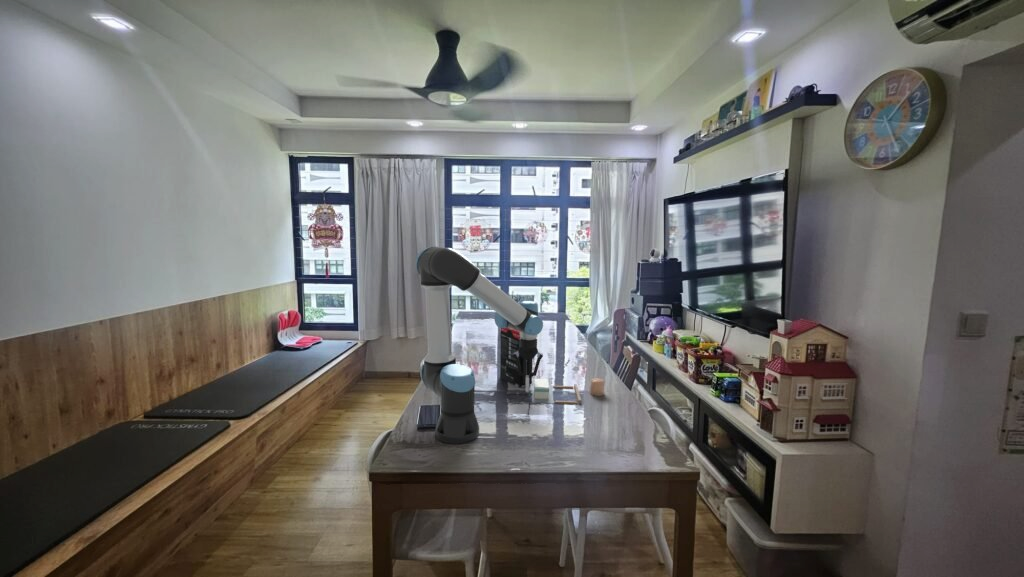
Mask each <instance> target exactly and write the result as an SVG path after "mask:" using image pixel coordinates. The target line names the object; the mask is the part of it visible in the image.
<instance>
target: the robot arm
mask: <svg viewBox="0 0 1024 577" xmlns="http://www.w3.org/2000/svg"><path fill="white" fill-rule="evenodd" d="M414 266H415V269H416V271H417V273H418V275H419V276H420V277H419V278H420V287H422V288H423V289H424V291H425V313H426V315H425V316H426V334H427V335H426V338H427V354H426V355H425V356H424V358H423V362H424V363H423V364H422V366H421V367H420V378H421V382H422V383H423V384H424V386H425V387H426V388H427V389H429V390H430V391H432V392H433V393H434V394H435V395H437V396H438V397H440V415H439V416H438V420H437V423H436V426H435V437H436V439H437V440H439V441H441V442H442V443H445V444H453V445H458V444H465V443H469V442H472V441H475V439H477V438H478V436H479V435H480V425H479V421H478V418H477V415H476V412H475V391H476V390H475V388H476V379H475V373H474V370H473V369H472V368H471V367H469V366H468V365H466V364H460V363H457V359H456V358H457V357H456V354H455V353H453V351H452V330H451V329H452V328H451V327H452V325H451V324H452V323H451V302H450V301H451V300H450V298H451V297H450V296H451V295H450V289H451V287H453V286H454V287H456V288H458V289H459V290H461V291H463V292H464V291H465V292H466V291H467V292H468V293H469V294H471V295H472V296H474V297H475V298H476V299H478V300H479V301H480V302H481V303H483V304H484V305H485V306H487V307H488V308H490V309H491V310H493V311H494V312H495V314H494V318H493V319H494V324H495V325H496V327H497V328H499V329H501V328H507V327H509V328H512V329H515V330H518V331H520V337H521V338H520V343H519V349H518V351H517V352H514V353H513V356H514V358H515V359H516V364H517V368H518V372H519V375H520V376H523V384H526V387H525V390H524V391H525V393H529V392H530V386H529V384H531V385H532V383H533V377H536V376H537V373H538V369H539V367H540V366H539V365H540V363H541V360H542V358H543V357H544V354H543V353H542V352H540V351H539V349H538V335H539V334H540V333H541V332H542V330H543V328H544V322H543V319H542V318H541V317H540V316H539V304H538V303H537V302H536V301H532V300H524V301H521V302H520V303H518V302H517V301H516V300H515V299H513V298H512V297H511V296H510V295H509V294H507V293H506V292H505V291H504V290H502V289H501V288H499V287H498V286H497V285H496V284H495V283H493V281H491V280H489V279H488V278H487V277H486V276H485V275H483V274H482V273H481V270H480V268H479V267H478V266H477V265H475V263H473V262H472V261H471V260H470V259H468V258H467V257H466V256H465V255H463V254H462V253H461V252H459V251H457V250H456V249H454V248H451V247H442V246H435V245H434V246H429V247H426V248H424V249H422V250H421V251H420V252H419V253H418V254H417V256H416V259H415V265H414ZM519 354H520V355H521V357H522V358H523V372H522V371H521V366H520V362H519V358H518V357H519ZM535 357H537V359H536V362H535V366H534V369H533V360H534V359H535ZM526 359H529V375H526Z"/></svg>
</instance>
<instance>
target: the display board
mask: <svg viewBox="0 0 1024 577" xmlns="http://www.w3.org/2000/svg"><path fill="white" fill-rule="evenodd" d="M553 388H554V389H574V393H575V397H576V400H577V401H574V400H573V401H572V400H555V401H554V392H553ZM531 403H539V404H540V403H542V404H554V403H555V404H562V405H563V404H565V405H566V404H567V405H582V398H581V394H580V391H579V388H578V385H577V383H574V385H572V386H571V385H552V386H549V399H535V398H534V385H532V386H531Z"/></svg>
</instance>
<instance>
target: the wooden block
mask: <svg viewBox="0 0 1024 577" xmlns="http://www.w3.org/2000/svg"><path fill="white" fill-rule="evenodd" d="M589 387H590V388H589V393H590V395H592V396H594V397H603V396H604V394H605V380H604V379H602V378H597V377H595V378H594V377H593V378H591V379H590V384H589Z"/></svg>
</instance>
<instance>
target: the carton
mask: <svg viewBox="0 0 1024 577" xmlns="http://www.w3.org/2000/svg"><path fill="white" fill-rule="evenodd" d="M533 380H534V381H533V386H534V398H535V399H549V387H550V384H549V379H548V378H534V379H533Z"/></svg>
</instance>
